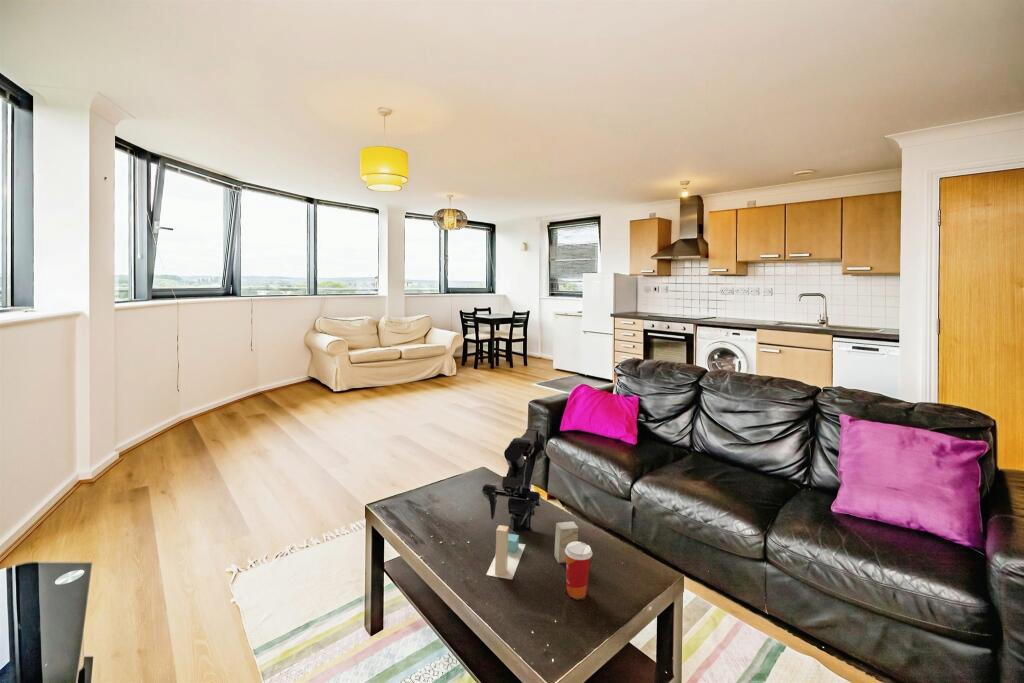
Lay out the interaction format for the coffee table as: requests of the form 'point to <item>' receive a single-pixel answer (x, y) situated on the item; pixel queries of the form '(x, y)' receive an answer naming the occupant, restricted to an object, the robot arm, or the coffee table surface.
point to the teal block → (513, 543)
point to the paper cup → (577, 568)
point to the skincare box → (564, 538)
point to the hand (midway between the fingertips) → (506, 521)
